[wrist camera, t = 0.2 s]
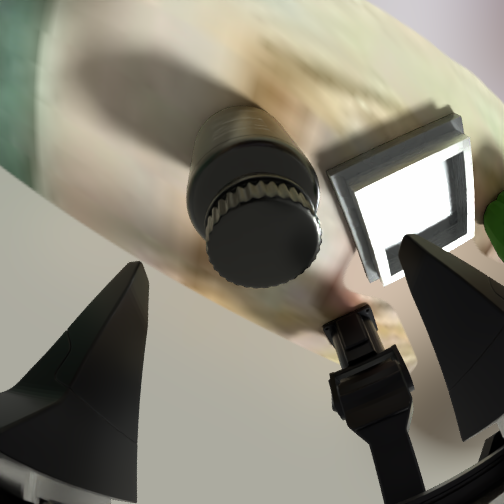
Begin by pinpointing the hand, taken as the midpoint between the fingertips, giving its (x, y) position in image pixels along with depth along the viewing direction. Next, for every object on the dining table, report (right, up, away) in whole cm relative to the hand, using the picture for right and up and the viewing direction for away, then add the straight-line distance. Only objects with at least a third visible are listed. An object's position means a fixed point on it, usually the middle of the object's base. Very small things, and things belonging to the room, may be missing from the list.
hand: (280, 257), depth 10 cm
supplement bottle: (-2, +8, +12) cm, 14 cm away
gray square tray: (+15, +5, +16) cm, 22 cm away
